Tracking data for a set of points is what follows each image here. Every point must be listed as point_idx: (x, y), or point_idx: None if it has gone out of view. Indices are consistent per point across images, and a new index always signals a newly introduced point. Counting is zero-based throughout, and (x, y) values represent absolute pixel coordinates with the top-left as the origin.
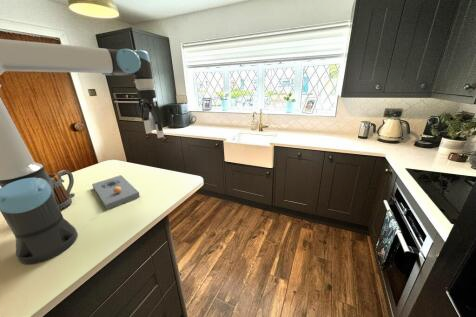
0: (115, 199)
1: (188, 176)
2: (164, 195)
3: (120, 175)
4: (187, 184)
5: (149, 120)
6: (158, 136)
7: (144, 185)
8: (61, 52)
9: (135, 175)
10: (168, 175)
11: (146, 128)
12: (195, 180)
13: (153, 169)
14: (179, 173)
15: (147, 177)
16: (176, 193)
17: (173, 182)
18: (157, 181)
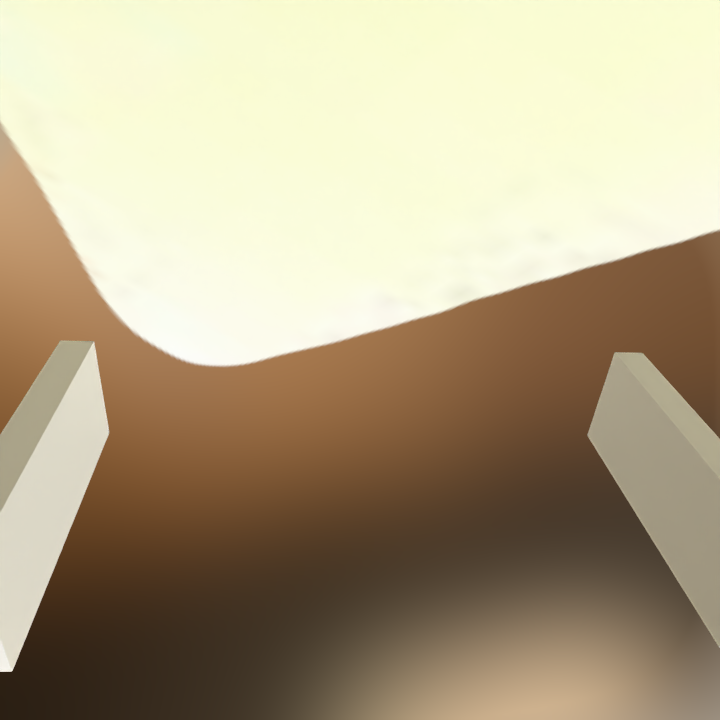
0: None
1: (279, 336)
2: (116, 34)
3: None
4: (159, 261)
5: (716, 637)
6: (50, 364)
7: (440, 5)
8: None
9: (712, 50)
10: (431, 248)
11: (661, 428)
12: (175, 333)
13: (658, 226)
14: (386, 322)
15: (564, 108)
16: (78, 123)
17: (279, 209)
18: (410, 129)
